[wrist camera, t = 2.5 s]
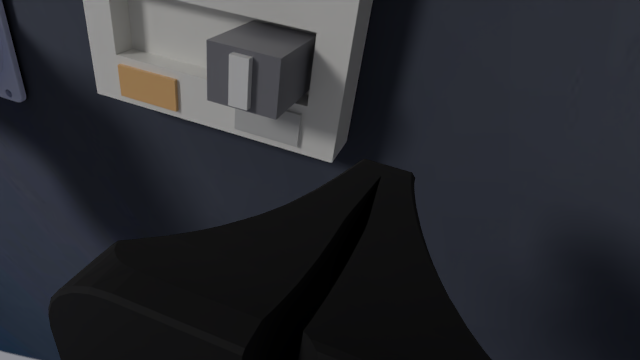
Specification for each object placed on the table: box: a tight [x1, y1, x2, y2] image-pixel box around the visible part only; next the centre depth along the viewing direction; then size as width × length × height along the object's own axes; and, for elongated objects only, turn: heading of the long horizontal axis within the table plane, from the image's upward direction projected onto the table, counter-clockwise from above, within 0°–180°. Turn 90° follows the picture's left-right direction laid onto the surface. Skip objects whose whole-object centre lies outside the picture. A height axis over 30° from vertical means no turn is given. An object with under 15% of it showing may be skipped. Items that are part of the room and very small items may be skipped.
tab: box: [206, 20, 316, 120], centre depth 18 cm, size 3×2×4 cm
